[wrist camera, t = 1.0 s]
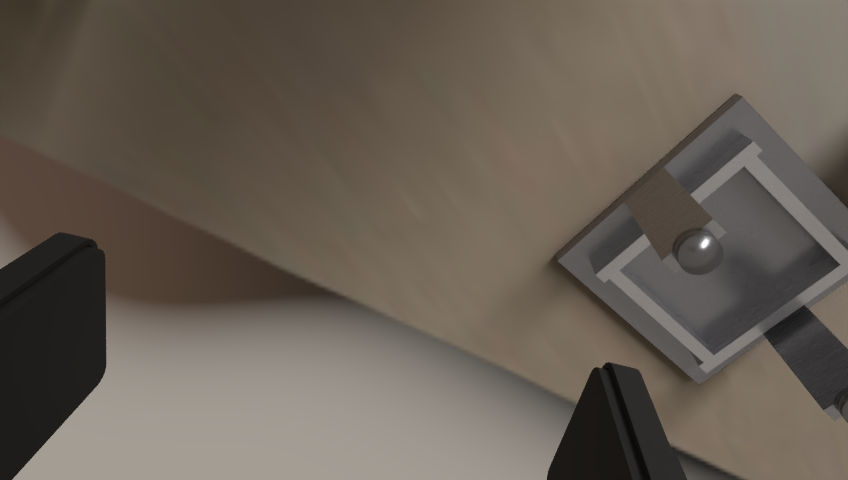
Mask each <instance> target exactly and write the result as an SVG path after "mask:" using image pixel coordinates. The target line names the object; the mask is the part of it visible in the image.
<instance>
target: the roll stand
mask: <svg viewBox="0 0 848 480" xmlns="http://www.w3.org/2000/svg"><path fill="white" fill-rule="evenodd" d="M556 257H557V261H558V262H559V263H560V264H562V265H563V266H564V267H565V268H566V269H567V270H568V271H570V272H571V273H572V274H573V275H574V276H575V277H576V278H578V279H579V280H580V281H581V282H582V283H583V284H584V285H586V286H587V287H588V288H589V289H590V290H591V291H592V292H594V293H595V294H596V295H597V296H598V297H599V298H600V299H602V300H603V301H604V302H605V303H606V304H607V305H608V306H610V307H611V308H612V309H613V310H614V311H615V312H616V313H618V314H619V315H620V316H621V317H622V318H623V319H624V320H626V321H627V322H628V323H629V324H630V325H631V326H632V327H634V328H635V329H636V330H637V331H638V332H639V333H640V334H642V335H643V336H644V337H645V338H646V339H647V340H649V341H650V342H651V343H652V344H653V345H654V346H655V347H657V348H658V349H659V350H660V351H661V352H662V353H663V354H665V355H666V356H667V357H668V358H669V359H670V360H671V361H673V362H674V363H675V364H676V365H677V366H678V367H679V368H681V369H682V370H683V371H684V372H685V373H686V374H687V375H689V376H690V377H691V378H692V379H693V380H694V381H695V382H697V383H698V384H699V385H700V384H701V383H703V382H704V381H706V380H707V379H708V378H710V377H711V376H713V375H714V374H716V373H717V372H718V371H720V370H721V369H723V368H724V367H726V366H727V365H728V364H730V363H731V362H733V361H734V360H736V359H737V358H738V357H740V356H741V355H743V354H744V353H746V352H747V351H748V350H750V349H751V348H753V347H754V346H756V345H757V344H758V343H760V342H761V341H763V340H764V339H766V338H767V340H768V341H769V342H770V343H771V345H772V346H773V347H774V348H775V350H776V351H777V352H778V353H779V355H780V356H781V357H782V359H783V360H784V361H785V362H786V364H787V365H788V366H789V367H790V369H791V370H792V371H793V372H794V374H795V375H796V376H797V378H798V379H799V380H800V381H801V383H802V384H803V385H804V386H805V388H806V389H807V390H808V391H809V393H810V394H811V395H812V396H813V398H814V399H815V400H816V402H817V403H818V404H819V405H820V407H821V408H822V409H823V410H824V411H825V412H826V413H827V414H828V415H829V416H830V417H831V418H832V419H833V420H834V421H835V420H837V419H839V418H840V417H842V416H843V418H844V419H845V420H846V421H847V423H848V349H847V347H846V346H845V345H844V344H843V343H842V342H841V341H840V340H839V339H838V338H837V337H836V336H835V335H834V334H833V333H832V332H831V331H830V330H829V329H828V328H827V327H826V326H825V325H824V324H823V323H822V322H821V321H820V320H819V319H818V318H817V317H816V316H815V315H814V314H813V313H812V312H811V311H810V310H809V309H808V308H810V307H811V306H813V305H814V304H816V303H817V302H818V301H820V300H821V299H823V298H824V297H826V296H827V295H828V294H830V293H831V292H833V291H834V290H836V289H837V288H838V287H840V286H841V285H843V284H844V283H846V282H847V281H848V208H847V207H846V206H845V205H844V204H843V203H842V202H841V201H840V200H839V199H838V198H837V197H836V196H835V195H834V194H833V192H832V191H831V190H830V189H829V188H828V187H827V186H826V185H825V184H824V183H823V182H822V181H821V180H820V179H819V178H818V177H817V175H816V174H815V173H814V172H813V171H812V170H811V169H810V168H809V167H808V166H807V165H806V164H805V163H804V162H803V161H802V159H801V158H800V157H799V156H798V155H797V154H796V153H795V152H794V151H793V150H792V149H791V148H790V147H789V146H788V145H787V144H786V142H785V141H784V140H783V139H782V138H781V137H780V136H779V135H778V134H777V133H776V132H775V131H774V130H773V129H772V128H771V126H770V125H769V124H768V123H767V122H766V121H765V120H764V119H763V118H762V117H761V116H760V115H759V114H758V113H757V112H756V110H755V109H754V108H753V107H752V106H751V105H750V104H749V103H748V102H747V101H746V100H745V99H744V98H743V97H742V96H740V95H738V94H735V95H733V96H732V97H731V98H730V99H729V100H728V101H727V102H726V103H724V104H723V105H722V106H721V107H720V108H719V109H718V110H717V111H716V112H714V113H713V114H712V115H711V116H710V117H709V118H708V119H707V120H705V121H704V122H703V123H702V124H701V125H700V126H699V127H698V128H696V129H695V130H694V131H693V132H692V133H691V134H690V135H689V136H688V137H686V138H685V139H684V140H683V141H682V142H681V143H680V144H679V145H677V146H676V147H675V148H674V149H673V150H672V151H671V152H670V153H668V154H667V155H666V156H665V157H664V158H663V159H662V160H661V161H659V162H658V163H657V164H656V165H655V166H654V167H653V168H652V169H651V170H649V171H648V172H647V173H646V174H645V175H644V176H643V177H642V178H640V179H639V180H638V181H637V182H636V183H635V184H634V185H633V186H631V187H630V188H629V189H628V190H627V191H626V192H625V193H624V194H623V195H621V196H620V197H619V198H618V199H617V200H616V201H615V202H614V203H612V204H611V205H610V206H609V207H608V208H607V209H606V210H605V211H603V212H602V213H601V214H600V215H599V216H598V217H597V218H596V219H595V220H593V221H592V222H591V223H590V224H589V225H588V226H587V227H586V228H584V229H583V230H582V231H581V232H580V233H579V234H578V235H577V236H575V237H574V238H573V239H572V240H571V241H570V242H569V243H568V244H566V245H565V246H564V247H563V248H562V249H561V250H560V251H559V252H558V253H556Z"/></svg>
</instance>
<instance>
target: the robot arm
mask: <svg viewBox="0 0 848 480" xmlns="http://www.w3.org/2000/svg"><path fill="white" fill-rule="evenodd" d="M105 369H106V296H105V254H104V252H103V251H102V250H100V249H98V248H97V244H96V243H95V241H94V240H92V239H88V238H84V237H80V236H75V235H71V234H66V233H57V234H55V235H53V236H52V237H50V238H49V239H47V240H46V241H44V242H42V243H41V244H40V245H38V246H36V247H35V248H33V249H31V250H30V251H28V252H27V253H25V254H24V255H22V256H20V257H19V258H17V259H16V260H14V261H13V262H11V263H9V264H8V265H6V266H5V267H3V268H2V269H0V480H12V479H13V478H14V477H15V476H16V475H17V474H18V472H19V471H20V470H21V469H22V468H23V467H24V466H25V464H27V462H28V461H29V460H30V459H31V458H32V457H33V456H34V454H36V452H37V451H38V450H39V449H40V448H41V447H42V446H43V445H44V444H45V443H46V441H47V440H48V439H49V438H50V437H51V436H52V435H53V434H54V433H55V431H56V430H57V429H58V428H59V427H60V426H61V425H62V424H63V423H64V421H65V420H66V419H67V418H68V417H69V416H70V415H71V414H72V413H73V411H74V410H75V409H76V408H77V407H78V406H79V405H80V404H81V403H82V402H83V400H85V398H86V397H87V396H88V395H89V394H90V393H91V392H92V391H93V390H94V388H95V387H96V386H97V385H98V384H99V383H100V381H101V379H102V377H103V375H104V373H105ZM547 480H687V478H686V476H685V473H684V471H683V468H682V466H681V464H680V461H679V459H678V457H677V456H676V454H675V453H674V452H673V451H672V450H671V447H670V445H669V442H668V440H667V437H666V435H665V433H664V430H663V428H662V425H661V423H660V420H659V418H658V415H657V413H656V410H655V408H654V405H653V403H652V400H651V398H650V395H649V393H648V390H647V388H646V385H645V383H644V380H643V378H642V375H641V373H640V372H639V370H637V369H635V368H631V367H626V366H622V365H618V364H614V363H610V362H608V363H606V364H605V365H604V366H603V367H602V368H597V367H596V368H594V369H593V370H592V372H591V374H590V376H589V378H588V381H587V383H586V385H585V388H584V390H583V392H582V394H581V397H580V399H579V401H578V404H577V406H576V408H575V410H574V413H573V415H572V417H571V420H570V422H569V424H568V427H567V429H566V431H565V433H564V436H563V438H562V440H561V443H560V445H559V447H558V449H557V452H556V454H555V456H554V459H553V461H552V463H551V466H550V468H549V471H548V475H547Z"/></svg>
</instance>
